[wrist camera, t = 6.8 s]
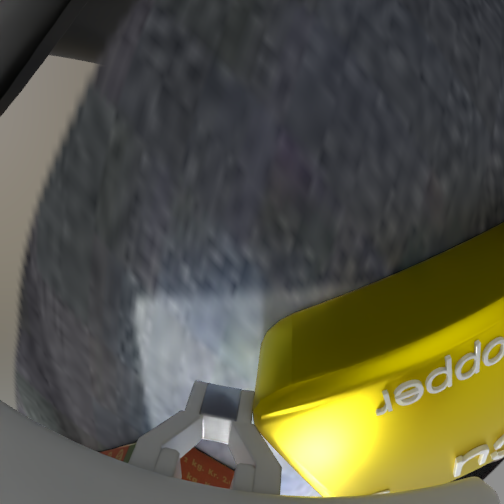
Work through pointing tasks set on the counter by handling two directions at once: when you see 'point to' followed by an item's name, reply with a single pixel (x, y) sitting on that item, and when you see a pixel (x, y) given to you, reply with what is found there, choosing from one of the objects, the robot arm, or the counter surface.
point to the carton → (188, 466)
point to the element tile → (392, 377)
